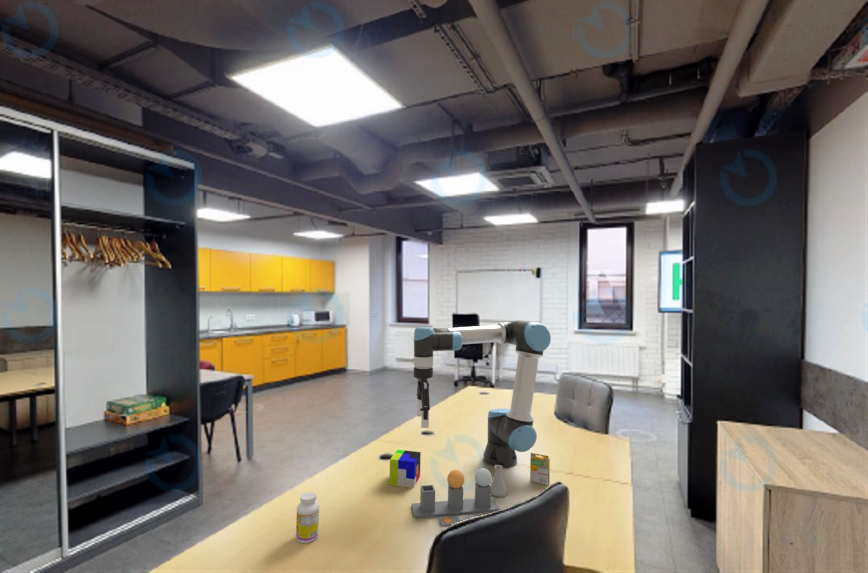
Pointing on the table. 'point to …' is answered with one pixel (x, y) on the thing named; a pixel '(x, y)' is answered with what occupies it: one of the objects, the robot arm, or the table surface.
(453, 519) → the card
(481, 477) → the light gray ball
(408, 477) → the puzzle toy
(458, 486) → the orange ball
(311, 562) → the table surface
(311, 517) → the supplement bottle
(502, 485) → the flask
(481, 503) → the ball display stand
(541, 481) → the crayon box
